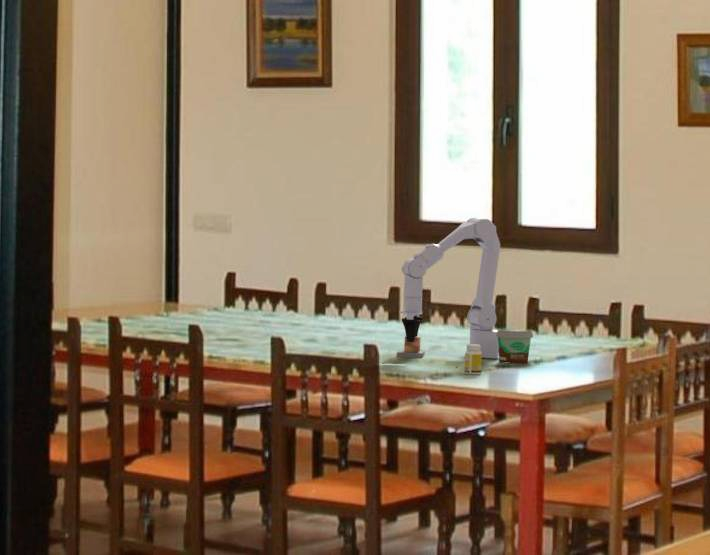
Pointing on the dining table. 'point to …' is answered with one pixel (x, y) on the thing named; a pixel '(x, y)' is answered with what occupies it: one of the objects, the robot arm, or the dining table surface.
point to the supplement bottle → (473, 359)
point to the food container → (514, 346)
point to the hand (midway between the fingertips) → (411, 340)
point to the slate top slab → (411, 354)
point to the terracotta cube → (412, 345)
